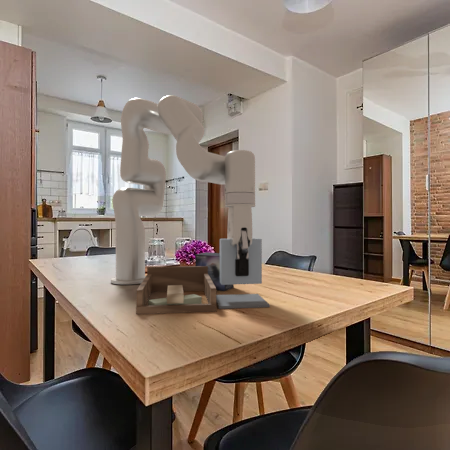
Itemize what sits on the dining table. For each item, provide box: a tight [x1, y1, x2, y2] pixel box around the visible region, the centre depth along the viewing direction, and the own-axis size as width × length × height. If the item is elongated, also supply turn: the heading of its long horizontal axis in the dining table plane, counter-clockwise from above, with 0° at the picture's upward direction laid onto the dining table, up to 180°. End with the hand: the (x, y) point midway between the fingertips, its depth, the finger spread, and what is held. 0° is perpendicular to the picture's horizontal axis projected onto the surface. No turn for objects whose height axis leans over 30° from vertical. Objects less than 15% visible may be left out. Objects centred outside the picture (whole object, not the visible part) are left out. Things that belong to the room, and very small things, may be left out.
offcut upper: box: [166, 285, 184, 304], centre depth 77 cm, size 4×10×2 cm, turn 9°
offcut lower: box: [147, 293, 203, 305], centre depth 77 cm, size 4×12×2 cm, turn 124°
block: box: [219, 237, 263, 285], centre depth 81 cm, size 4×10×11 cm, turn 98°
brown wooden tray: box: [135, 265, 217, 315], centre depth 83 cm, size 25×17×7 cm
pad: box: [216, 293, 271, 310], centre depth 81 cm, size 12×12×1 cm
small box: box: [194, 252, 235, 292], centre depth 99 cm, size 11×6×10 cm, turn 62°
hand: (240, 273), depth 81 cm, fingers closed on block, 3 cm apart
